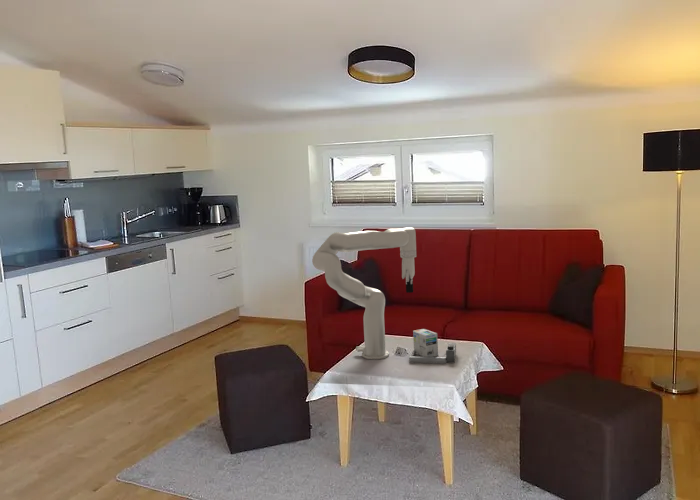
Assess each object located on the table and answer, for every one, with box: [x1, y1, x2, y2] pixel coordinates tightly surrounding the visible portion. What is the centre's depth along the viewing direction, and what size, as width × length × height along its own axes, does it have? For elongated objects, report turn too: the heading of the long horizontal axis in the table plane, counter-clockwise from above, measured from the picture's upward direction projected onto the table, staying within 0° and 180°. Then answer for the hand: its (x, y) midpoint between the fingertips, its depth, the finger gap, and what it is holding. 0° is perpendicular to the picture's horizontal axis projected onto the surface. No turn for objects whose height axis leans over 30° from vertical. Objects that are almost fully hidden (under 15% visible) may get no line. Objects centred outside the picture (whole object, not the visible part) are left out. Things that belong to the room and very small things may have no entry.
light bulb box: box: [412, 328, 439, 357], centre depth 286 cm, size 11×7×11 cm, turn 29°
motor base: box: [408, 342, 457, 365], centre depth 280 cm, size 20×16×7 cm
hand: (409, 292), depth 294 cm, fingers closed
